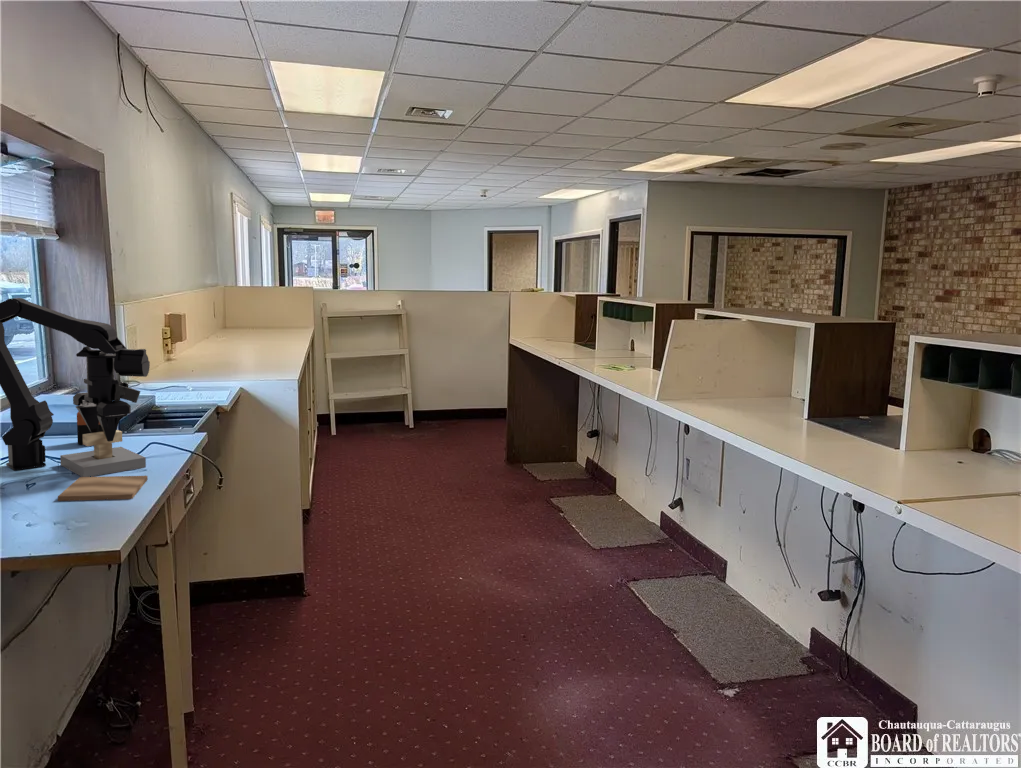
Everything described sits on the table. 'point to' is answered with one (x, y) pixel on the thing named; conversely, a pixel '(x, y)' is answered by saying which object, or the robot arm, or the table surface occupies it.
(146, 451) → the table surface
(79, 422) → the battery
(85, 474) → the keyhole plate
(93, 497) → the walnut pad
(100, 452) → the t key
